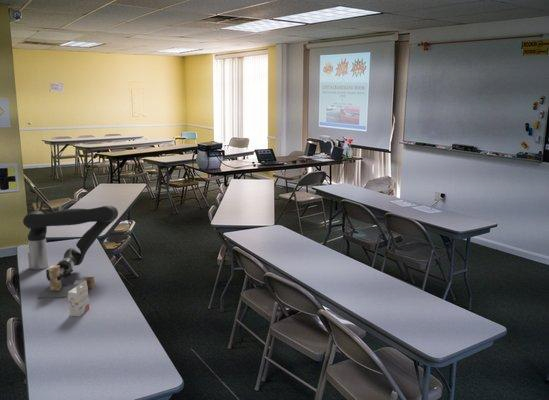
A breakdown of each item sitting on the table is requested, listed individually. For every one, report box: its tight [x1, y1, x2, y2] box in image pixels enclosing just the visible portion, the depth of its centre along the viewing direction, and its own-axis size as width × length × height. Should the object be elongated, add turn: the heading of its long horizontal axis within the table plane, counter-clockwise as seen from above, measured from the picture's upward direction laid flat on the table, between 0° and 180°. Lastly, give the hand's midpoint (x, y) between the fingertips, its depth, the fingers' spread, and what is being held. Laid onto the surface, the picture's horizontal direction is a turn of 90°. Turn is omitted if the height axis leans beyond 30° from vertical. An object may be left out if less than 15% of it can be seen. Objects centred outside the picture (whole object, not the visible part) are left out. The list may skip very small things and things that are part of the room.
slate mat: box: [38, 285, 73, 299], centre depth 244 cm, size 13×13×1 cm
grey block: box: [72, 279, 86, 289], centre depth 243 cm, size 5×5×6 cm
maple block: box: [48, 264, 62, 291], centre depth 242 cm, size 4×4×12 cm
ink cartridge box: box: [67, 281, 90, 317], centre depth 221 cm, size 9×5×15 cm, turn 168°
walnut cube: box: [81, 276, 95, 290], centre depth 251 cm, size 5×5×5 cm
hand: (53, 278), depth 239 cm, fingers closed on maple block, 3 cm apart
